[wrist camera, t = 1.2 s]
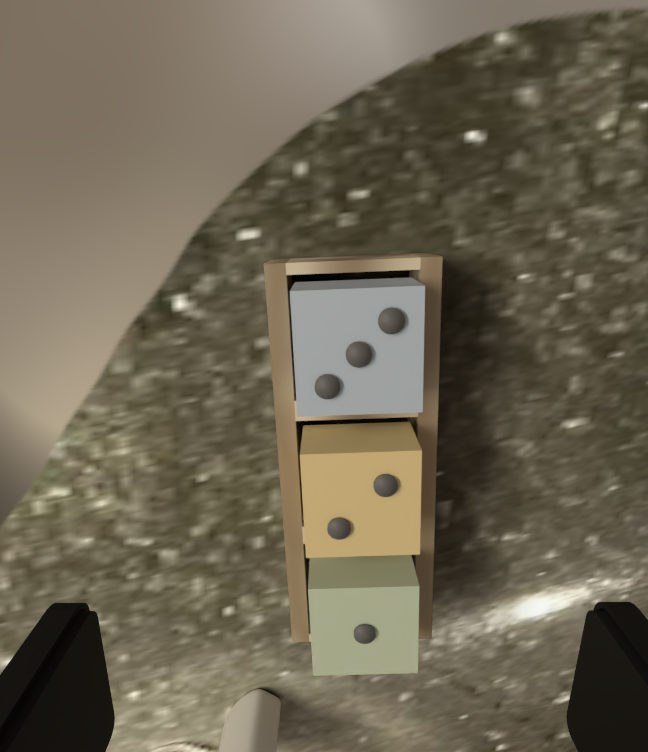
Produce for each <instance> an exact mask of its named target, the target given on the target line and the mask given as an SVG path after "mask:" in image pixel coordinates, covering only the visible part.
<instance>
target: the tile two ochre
mask: <svg viewBox="0 0 648 752" xmlns="http://www.w3.org/2000/svg"><path fill="white" fill-rule="evenodd" d="M300 467H301V484H302V500H303V516H304V533H305V549H306V558H321V557H354V556H387V555H420V528H421V476H422V449H421V447H420V445H419V442H418V440H417V438H416V435H415V433H414V430H413V428H412V426H411V423H410V422H387V423H359V424H330V425H303V432H302V440H301V448H300Z"/></svg>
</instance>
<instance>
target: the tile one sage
mask: <svg viewBox="0 0 648 752" xmlns="http://www.w3.org/2000/svg"><path fill="white" fill-rule="evenodd" d="M308 598H309V614H310V631H311V647H312V663H313V676H319V675H358V674H397V673H418V633H419V583H418V579H417V575H416V571H415V567H414V563H413V559H412V555H387V556H354V557H321V558H310V561H309V579H308Z"/></svg>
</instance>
